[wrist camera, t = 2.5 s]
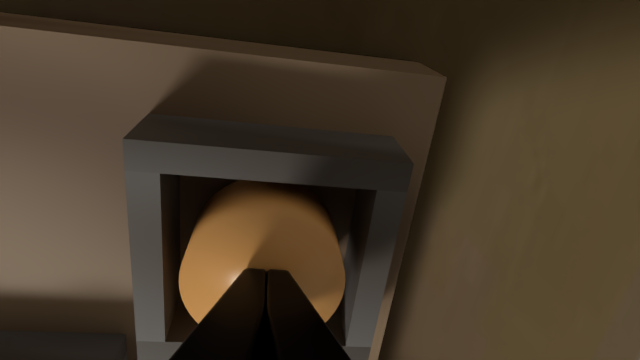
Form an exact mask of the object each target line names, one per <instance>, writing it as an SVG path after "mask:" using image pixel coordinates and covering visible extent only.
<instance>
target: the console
mask: <svg viewBox="0 0 640 360" xmlns="http://www.w3.org/2000/svg"><path fill="white" fill-rule="evenodd" d="M446 80H447V77H445V76H443V75H442V74H440V73H438V72H436V71H434V70H432V69H430V68H428V67H427V66H425V65H423V64H421V63H419V62H412V61H404V60H396V59H387V58H379V57H371V56H362V55H354V54H345V53H337V52H329V51H320V50H312V49H304V48H295V47H287V46H279V45H270V44H262V43H254V42H245V41H237V40H229V39H220V38H212V37H204V36H195V35H187V34H179V33H170V32H162V31H154V30H145V29H137V28H128V27H120V26H112V25H103V24H95V23H87V22H78V21H70V20H62V19H53V18H45V17H37V16H28V15H20V14H12V13H3V12H0V360H169V358H170V357H171V356H172V355H173V354H174V353H175V351H176V350H177V349H178V348H179V347H180V345H181V344H182V343H183V342H184V341H185V339H186V338H187V337H188V336H189V335H190V333H191V332H192V331H193V330H194V329H195V327H196V326H197V325H198V323H197V322H196V321H195V320H194V319H193V317H192V316H191V315H190V314H189V312H188V310H187V309H186V307H185V305H184V303H183V301H182V298H181V294H180V291H179V271H180V267H181V263H182V260H183V258H184V255H185V252H186V249H187V246H188V244H189V241H190V238H191V235H192V232H193V229H194V227H195V224H196V221H197V218H198V216H199V214H200V212H201V210H202V208H203V207H204V205H205V204H206V203H207V202H208V200H209V199H210V198H211V197H212V196H213V195H215V194H216V193H217V192H218V191H220V190H221V189H223V188H224V187H226V186H228V185H230V184H232V183H234V182H237V181H240V180H251V181H264V182H277V183H290V184H300V185H302V186H304V187H306V188H308V189H309V190H310V191H312V192H313V193H314V194H316V195H317V196H318V197H319V198H320V199H321V200H322V202H323V203H324V204H325V206H326V207H327V209H328V210H329V212H330V214H331V217H332V219H333V222H334V226H335V231H336V235H337V239H338V244H339V248H340V252H341V256H342V261H343V265H344V270H345V289H344V293H343V296H342V299H341V301H340V304H339V306H338V307H337V309H336V311H335V312H334V313H333V315H332V316H331V317H330V318H329V320H328V321H326V322H325V323H326V325H327V326H328V327H329V329H330V330H331V332H332V333H333V335H334V336H335V337H336V339H337V340H338V342H339V343H340V344H341V346H342V347H343V349H344V350H345V351H346V353H347V354H348V356H349V357H350V359H351V360H378V356H379V352H380V348H381V344H382V340H383V336H384V332H385V328H386V324H387V320H388V316H389V312H390V307H391V303H392V299H393V295H394V291H395V287H396V283H397V279H398V275H399V271H400V267H401V263H402V259H403V255H404V251H405V246H406V242H407V238H408V234H409V230H410V226H411V222H412V218H413V214H414V210H415V206H416V202H417V198H418V194H419V190H420V185H421V181H422V177H423V173H424V169H425V165H426V161H427V157H428V153H429V149H430V145H431V141H432V137H433V133H434V129H435V125H436V120H437V116H438V112H439V108H440V104H441V100H442V96H443V92H444V88H445V84H446Z"/></svg>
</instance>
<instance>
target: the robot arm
mask: <svg viewBox="0 0 640 360" xmlns="http://www.w3.org/2000/svg"><path fill="white" fill-rule="evenodd" d="M169 360H351V359H350V357H349V356H348V354H347V353H346V351H345V350H344V349H343V347H342V346H341V344H340V343H339V342H338V340H337V339H336V337H335V336H334V335H333V333H332V332H331V330H330V329H329V327H328V326H327V325H326V323H325V322H324V320H323V319H322V318H321V316H320V315H319V313H318V312H317V310H316V309H315V308H314V306H313V305H312V303H311V302H310V301H309V299H308V298H307V296H306V295H305V294H304V292H303V291H302V289H301V288H300V286H299V285H298V284H297V282H296V281H295V279H294V278H293V277H292V275H291V274H290V272H289V271H287V270H277V269H269V270H268V271H267V273H266V271H265V270H264V269H256V268H246V269H244V270H243V271H242V272H241V274H240V275H239V276H238V277H237V278H236V280H235V281H234V282H233V283H232V284H231V286H230V287H229V288H228V289H227V290H226V292H225V293H224V294H223V295H222V296H221V297H220V299H219V300H218V301H217V302H216V303H215V305H214V306H213V307H212V308H211V309H210V311H209V312H208V313H207V314H206V315H205V317H204V318H203V319H202V320H201V321H200V323H199V324H198V325H197V326H196V327H195V329H194V330H193V331H192V332H191V333H190V335H189V336H188V337H187V338H186V339H185V341H184V342H183V343H182V344H181V345H180V347H179V348H178V349H177V350H176V351H175V353H174V354H173V355H172V356H171V357H170V358H169Z"/></svg>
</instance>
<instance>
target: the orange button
mask: <svg viewBox="0 0 640 360" xmlns="http://www.w3.org/2000/svg"><path fill="white" fill-rule="evenodd" d="M246 268H256V269H264V270H265V271H266V273H267V271H268V270H269V269H277V270H287V271H289V272H290V274H291V275H292V277H293V278H294V279H295V281H296V282H297V284H298V285H299V286H300V288H301V289H302V291H303V292H304V294H305V295H306V296H307V298H308V299H309V301H310V302H311V303H312V305H313V306H314V308H315V309H316V310H317V312H318V313H319V315H320V316H321V318H322V319H323V320H324V322H326V321H328V320H329V318H330V317H331V316H332V315H333V313H334V312H335V311H336V309H337V307H338V306H339V304H340V301H341V299H342V296H343V293H344V289H345V270H344V265H343V261H342V256H341V252H340V248H339V244H338V239H337V235H336V231H335V226H334V222H333V219H332V217H331V214H330V212H329V210H328V209H327V207H326V206H325V204H324V203H323V202H322V200H321V199H320V198H319V197H318V196H317V195H316V194H314V193H313V192H312V191H310V190H309V189H308V188H306V187H304V186H302V185H300V184H290V183H277V182H264V181H251V180H240V181H237V182H234V183H232V184H230V185H228V186H226V187H224V188H223V189H221V190H220V191H218V192H217V193H216V194H215V195H213V196H212V197H211V198H210V199H209V200H208V202H207V203H206V204H205V205H204V207H203V208H202V210H201V212H200V214H199V216H198V218H197V221H196V224H195V227H194V229H193V232H192V235H191V238H190V241H189V244H188V246H187V249H186V252H185V255H184V258H183V260H182V263H181V267H180V271H179V291H180V294H181V298H182V301H183V303H184V305H185V307H186V309H187V310H188V312H189V314H190V315H191V316H192V317H193V319H194V320H195V321H196V322H197V323H198V324H199V323H200V321H201V320H202V319H203V318H204V317H205V315H206V314H207V313H208V312H209V311H210V309H211V308H212V307H213V306H214V305H215V303H216V302H217V301H218V300H219V299H220V297H221V296H222V295H223V294H224V293H225V292H226V290H227V289H228V288H229V287H230V286H231V284H232V283H233V282H234V281H235V280H236V278H237V277H238V276H239V275H240V274H241V272H242V271H243V270H244V269H246Z"/></svg>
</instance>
